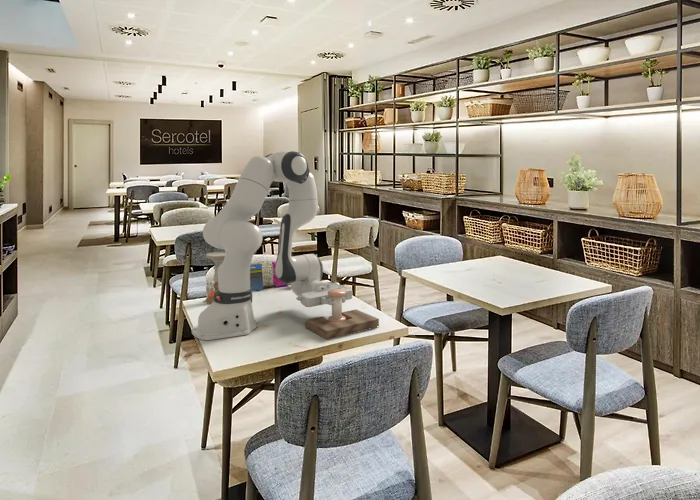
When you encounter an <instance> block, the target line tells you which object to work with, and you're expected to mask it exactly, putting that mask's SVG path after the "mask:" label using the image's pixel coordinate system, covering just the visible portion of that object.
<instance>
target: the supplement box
mask: <svg viewBox="0 0 700 500" xmlns="http://www.w3.org/2000/svg"><path fill="white" fill-rule="evenodd" d="M275 264H276V260H273V261H271V271H272V272H271V273H272V274H271V275H272V285H273V286H275V288H284V287H289V286H288V285H289V283H288V284H285V283H283V282H281V281H280V280H279V279H278V278H277V277H276V275H275Z"/></svg>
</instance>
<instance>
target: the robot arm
mask: <svg viewBox="0 0 700 500" xmlns="http://www.w3.org/2000/svg"><path fill="white" fill-rule="evenodd" d="M307 159H308V158H306V156H305V155H304V154H303V153H301V152H298V151H294V150H293V151H278V152H275V153H268V154H267V155H266V156H261V155H256V156H255V155H254V156H253V157H251V158H250V159H249V161H248V162H247V164H246V165H245V166H244V168H243V170H242V172H241V174H240V175H239V178H238V180H237V182H236V184H235V187H234V188H233V191H232V193H231V195H230V197H229V199H228V200H227V202H226V203H225V204H224V206H223V207H222V208H221V210H220V211H219V212H218V213H217V214H216V215H215V216H214V217H213V218H211V219H210V220H208V221H207V222H206V223H205V224H204V226H203V228H202V237H203V239H204V241H205V243H207V244H208V245H210V246H211V247H214V248H216V249H219V250H223V251H224V252H225V258H224V261H223V263H222V264H221V265H220V266H219V268H218V288H219V289H218V291H217V292H216V293H215V291H213V290H211V291H209V292H208V297H209V296H211V297H214V302H213V303H211V304H208V306H207V307H205V308H204V309H203V311H201V312H200V313H199V314H198V315H199V316H198V319H197V325H196V326H192V328H191V334H192V335H193V337H195V338H196V339H199V340H201V341H211V340H212V341H213V340H220V339H227V338H232V337H233V338H234V337H238V336H240V337H241V336H245V335H250V333H251V332H252V331H254V330H255V329H256V328H257V322H256V319H255V316H254V310H253V306H252V305H253V304H252V303H253V291H252V288H251V287H250V269H251V267H250V265H252V260H253V258H254V256H255V255H254V254H255V253H256V252H257V251H258V250H259V249H260V247H261V246H262V243H263V238H264V237H263V232H262V230H261V229H260V227H259V226H257V225H256V224H253V223H252V222H250V221H249V220H250V219H251V218H253V217H254V216H255V215H257V214H259V212H260V211H261V209H262V207H263V204H264V202H265V200H266V197H267V195H268V192H269V190H270V188H271V184H272V183H277V182H278V183H285V184H286V186H287V189H288V206H287V211H286V213H285V214H284V215H283V216H282V217H281V222H280V226H279V227H280V229H279V234H278V235H279V236H278V237H279V238H278V245H277V246H278V248H277V257H276V260H275V261H276V264H275V275H276V277H277V278H278V279H279V280H280V281H281V282H283V283H285V284H288V285H289V284H290V289H291V291H292V293H293V294H294V295H296V300H297V301H298V302H299V301H300V304H301V305H302V306H304V307H306V308H313V307H317V306H323V305H329V306H332V305H334V300H332V297H330V296H328V291H329V290H334V289H340V290H344V291H346V295H345V296H343V297H342V304H343V303H346V301H348V300H352V299H353V289H352V288H351V287H348V286H346V285H342V284H339V282H338V281H322V277H323V273H324V265H323V263H322V261H321V259H320V258H319V256H317V254H315V253H307V254H301V255H295V256H294V255H293V256H292V249H293V241H294V240H293V238H294V234H295V233H296V232H297V230H298V229H300V228H301V227H303V226H305V225H306V224H307V225H308V223H310V222H312V221H313V220H314V218H315V217H316V216H317V214H318V211H319V199H318V190H317V184H316V181H315V177H314V174H313V173H311V171H310V166H309V162H308V160H307Z"/></svg>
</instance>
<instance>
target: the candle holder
mask: <svg viewBox="0 0 700 500" xmlns="http://www.w3.org/2000/svg"><path fill="white" fill-rule="evenodd" d="M205 258H207V259H210V260H212V261H213V263H214V266H213V267H212V269H213V270H214V273H213V278H212V280H213V282H214V283H213V284H212V287H213V288H214V292H215V293H216V292H217V291H218V289H219V288H218V268H219V266H220V265H221V264H222V263H223V261H224V258H225V251H214V252H209V253H207V254H206V253H205ZM205 302H206V304H208V305H210V304H211V303H213V302H214V297H211V296H209V295H208V296H207V297H206V298H205Z"/></svg>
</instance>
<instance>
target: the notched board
mask: <svg viewBox="0 0 700 500" xmlns="http://www.w3.org/2000/svg"><path fill="white" fill-rule="evenodd" d="M342 316H345V317H346V320H343V321H338V322H332V321H330V320H328V318H327V317H324V316H318V317H314V318H310V319H305V329H307V330H308V331H311V332H312V333H314V334H316V335H318V336H319V337H321V338H323V339H325V340H331V339H335V338H340V337H342V336H347V334H348V335H352V334H355V333H354V332H356V333H359V332H358V331H360V332H363V331H362V330H364V331H366V330H365V329H368V330H370V329H369V328H372V329H374V328H373V327H376V328H378V327H377V326H379V327H380V319H379V318H378V317H376V316H373V315H370V314H368V313H366V312H364V311H361V310H359V309H351V310H347V311H342ZM351 333H352V334H351Z"/></svg>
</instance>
